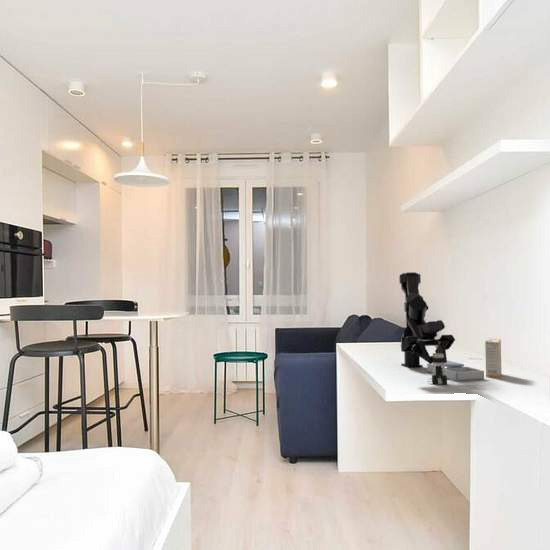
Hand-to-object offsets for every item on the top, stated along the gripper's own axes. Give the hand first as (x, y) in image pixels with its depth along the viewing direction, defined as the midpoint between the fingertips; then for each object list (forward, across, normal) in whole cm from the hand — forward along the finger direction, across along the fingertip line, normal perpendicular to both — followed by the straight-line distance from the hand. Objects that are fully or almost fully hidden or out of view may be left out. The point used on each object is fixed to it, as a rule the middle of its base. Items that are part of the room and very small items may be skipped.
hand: (438, 362), depth 155 cm
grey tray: (-3, +14, +13) cm, 19 cm away
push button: (+5, 0, +6) cm, 7 cm away
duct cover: (-8, +14, +14) cm, 21 cm away
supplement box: (+1, +28, +10) cm, 30 cm away
